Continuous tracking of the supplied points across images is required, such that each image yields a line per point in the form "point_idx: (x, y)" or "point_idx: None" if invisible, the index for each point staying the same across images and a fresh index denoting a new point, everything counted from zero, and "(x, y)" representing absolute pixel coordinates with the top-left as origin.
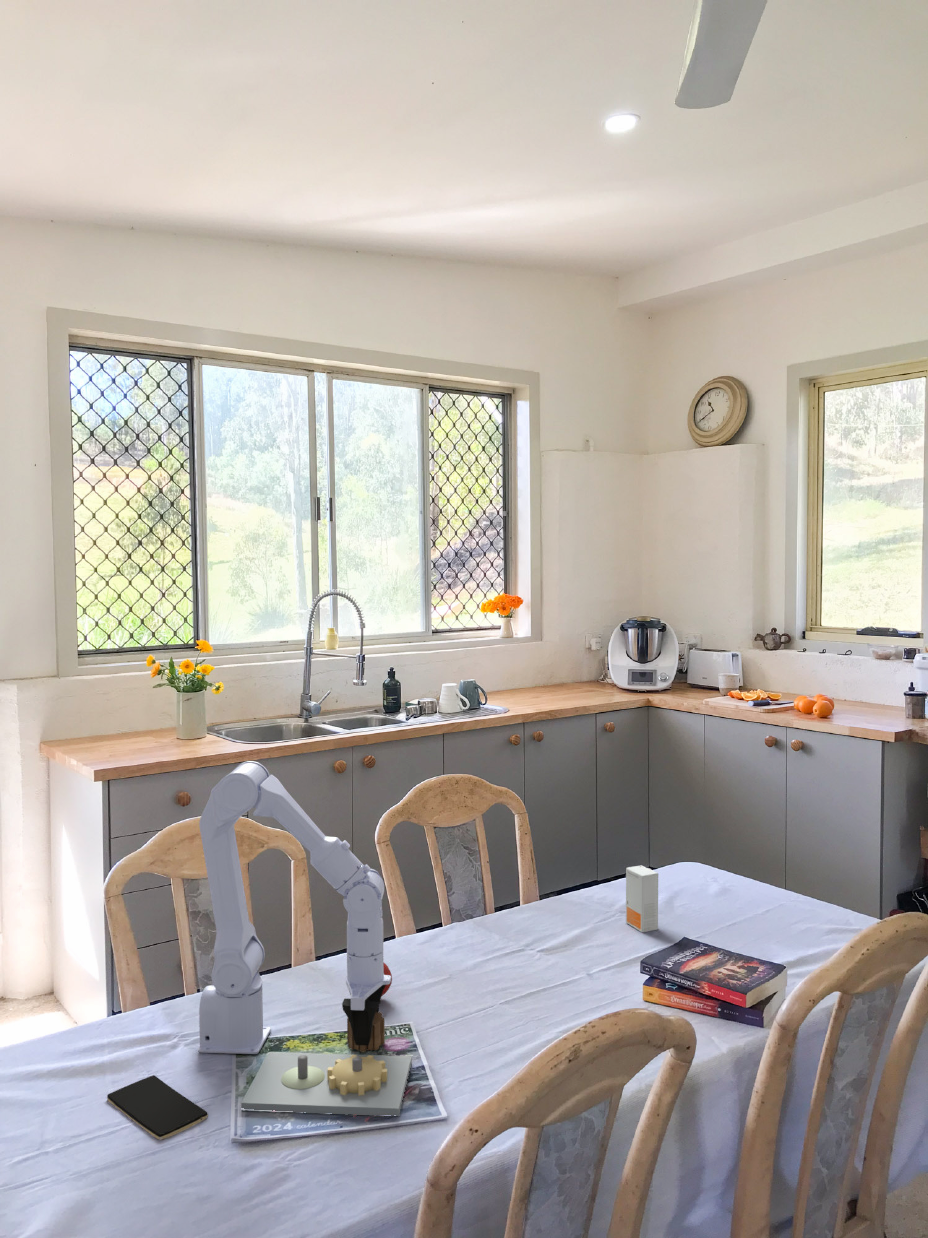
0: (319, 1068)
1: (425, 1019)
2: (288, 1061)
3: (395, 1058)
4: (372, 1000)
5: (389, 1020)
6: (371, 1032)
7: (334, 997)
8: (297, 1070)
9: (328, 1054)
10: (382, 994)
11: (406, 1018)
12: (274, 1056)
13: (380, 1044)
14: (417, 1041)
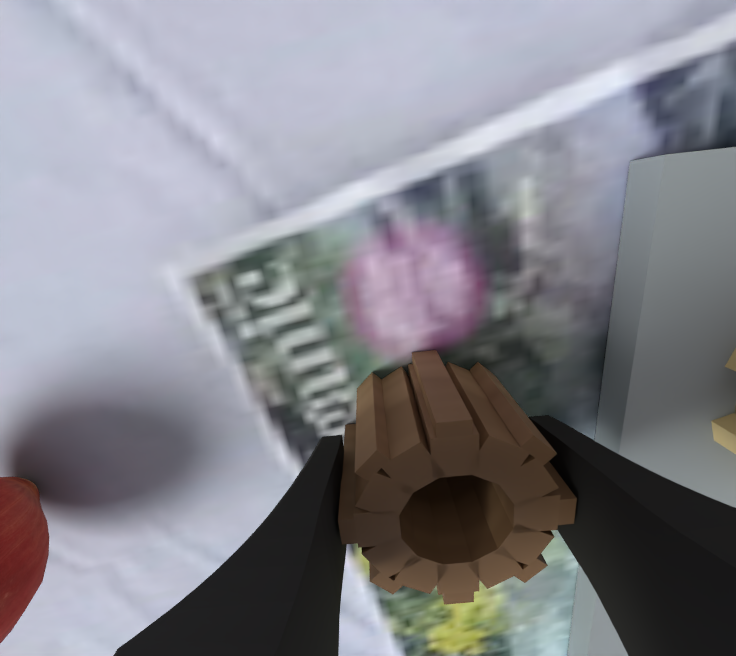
0: None
1: (111, 198)
2: None
3: (679, 248)
4: (323, 577)
5: (191, 383)
6: (573, 444)
7: (81, 620)
8: None
9: None
10: (2, 486)
11: (141, 307)
12: None
13: (450, 365)
14: (374, 187)
